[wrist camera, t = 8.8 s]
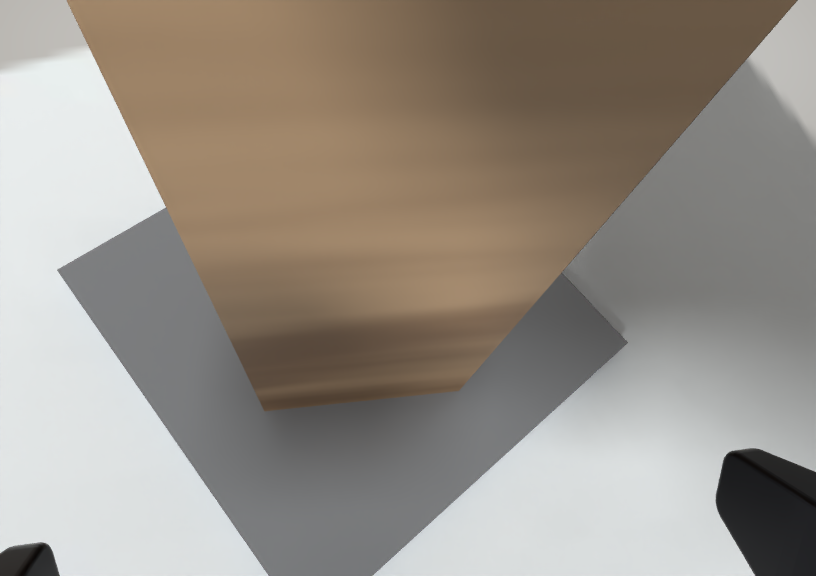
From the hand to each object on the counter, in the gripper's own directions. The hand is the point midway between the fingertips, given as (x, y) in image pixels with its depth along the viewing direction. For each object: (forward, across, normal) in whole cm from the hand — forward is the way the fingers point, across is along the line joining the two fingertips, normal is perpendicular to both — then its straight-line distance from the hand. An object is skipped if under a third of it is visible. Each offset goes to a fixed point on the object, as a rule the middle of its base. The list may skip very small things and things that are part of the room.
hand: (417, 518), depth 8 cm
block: (+9, 0, +1) cm, 9 cm away
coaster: (+9, 0, +1) cm, 9 cm away
